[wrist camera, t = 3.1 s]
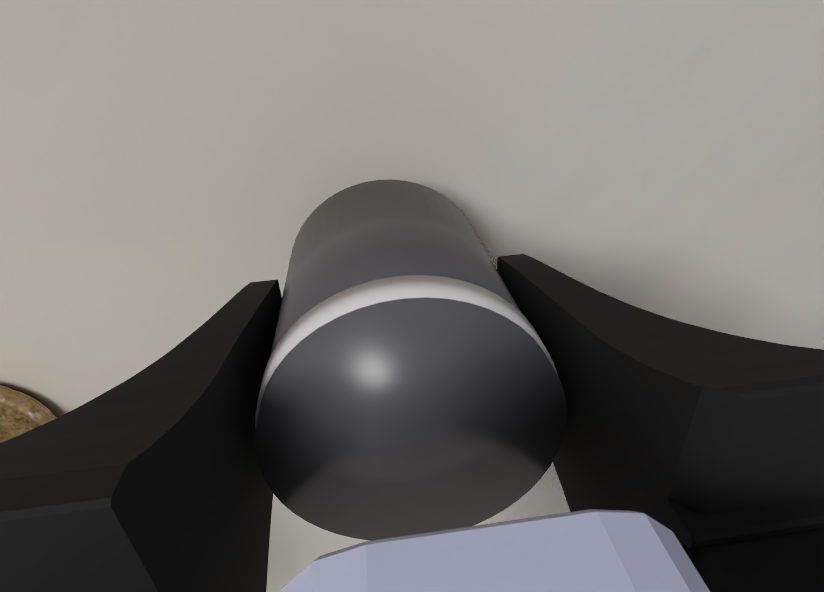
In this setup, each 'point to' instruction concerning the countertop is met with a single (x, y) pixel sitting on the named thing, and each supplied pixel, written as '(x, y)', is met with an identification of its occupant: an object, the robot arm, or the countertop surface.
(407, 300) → the lens
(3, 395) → the sprinkles bottle
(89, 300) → the countertop surface
